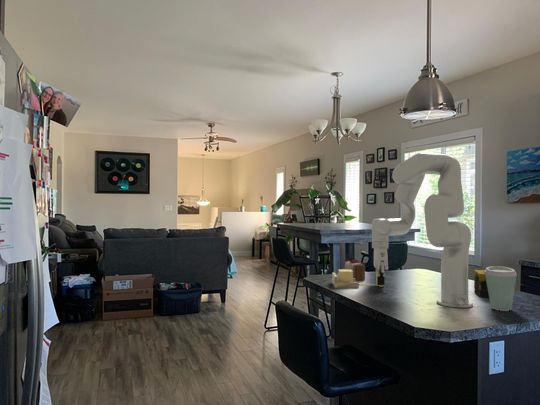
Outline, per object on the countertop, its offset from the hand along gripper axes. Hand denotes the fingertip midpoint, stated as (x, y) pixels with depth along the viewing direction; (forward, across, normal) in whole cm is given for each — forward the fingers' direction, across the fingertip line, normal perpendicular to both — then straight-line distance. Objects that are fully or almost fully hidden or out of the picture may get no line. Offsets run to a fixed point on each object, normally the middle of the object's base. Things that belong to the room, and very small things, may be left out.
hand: (379, 283), depth 188 cm
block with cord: (+1, 0, +9) cm, 9 cm away
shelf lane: (+1, 0, +16) cm, 16 cm away
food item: (+1, +19, +9) cm, 21 cm away
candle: (+1, -16, -42) cm, 45 cm away
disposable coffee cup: (+1, -39, -35) cm, 53 cm away
